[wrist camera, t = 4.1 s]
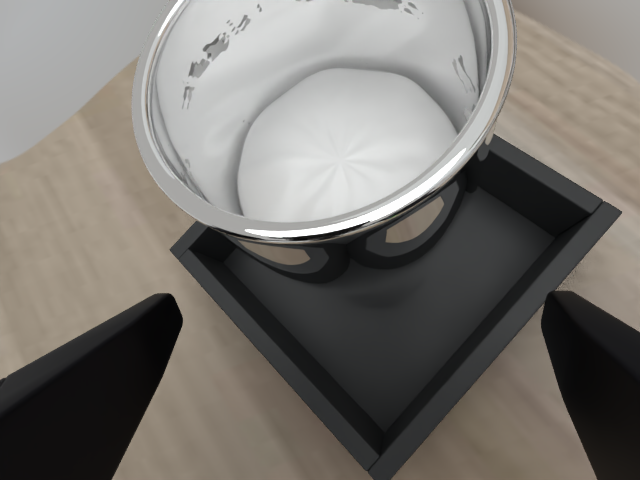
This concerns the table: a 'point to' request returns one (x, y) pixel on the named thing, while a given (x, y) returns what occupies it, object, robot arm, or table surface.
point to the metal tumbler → (326, 129)
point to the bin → (412, 309)
